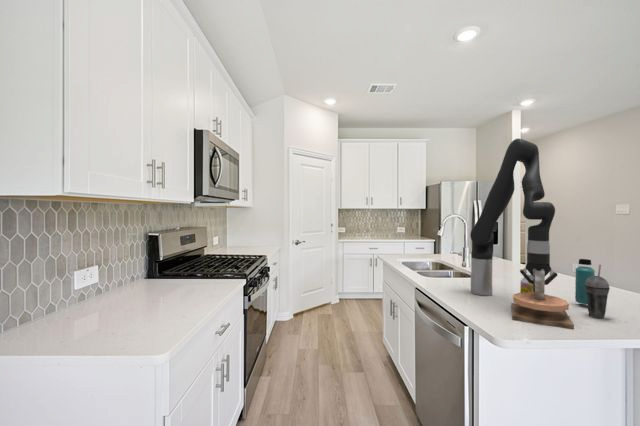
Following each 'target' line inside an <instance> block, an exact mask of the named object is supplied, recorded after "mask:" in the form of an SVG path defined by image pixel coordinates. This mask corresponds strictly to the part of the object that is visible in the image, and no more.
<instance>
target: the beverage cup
mask: <svg viewBox="0 0 640 426" xmlns="http://www.w3.org/2000/svg"><path fill="white" fill-rule="evenodd" d="M601 268H602V264H598V272H597V275H595V276H592V277H589V278H588V279H587V280H586V282H585V289H586V292H587V303H588V305H587V312H588V316H589V317H591V318H594V319H601V320H602V319H603V320H604V319H605V316H606V311H607V304H608V296H609V293H610V284H609V282H608V280H607V279H605V278H604V277H601V276H600V274H601Z"/></svg>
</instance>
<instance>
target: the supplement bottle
mask: <svg viewBox="0 0 640 426" xmlns="http://www.w3.org/2000/svg"><path fill="white" fill-rule="evenodd" d="M527 275H528V276H529V278H530V279H531V280H533V276H532V275H531V274H530V273H529V272H527ZM533 288H534V285H533V284H531V283H529V282H528V281H527V280H526V278H525V277H524V276H523V278H521V279H520V291H519V293H534V291H533Z"/></svg>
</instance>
